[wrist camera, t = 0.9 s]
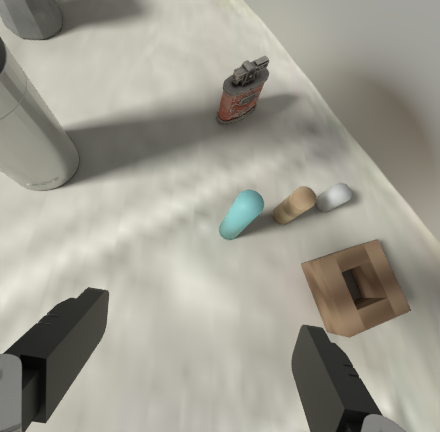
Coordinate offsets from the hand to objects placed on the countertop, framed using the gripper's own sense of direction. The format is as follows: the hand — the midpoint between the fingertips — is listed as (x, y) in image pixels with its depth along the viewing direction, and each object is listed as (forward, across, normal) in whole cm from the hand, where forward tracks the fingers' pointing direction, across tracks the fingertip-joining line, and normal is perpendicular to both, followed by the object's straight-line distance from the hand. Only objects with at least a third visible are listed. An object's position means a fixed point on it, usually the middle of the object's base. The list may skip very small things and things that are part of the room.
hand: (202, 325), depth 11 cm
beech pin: (+31, -10, +1) cm, 32 cm away
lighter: (+40, 0, -14) cm, 42 cm away
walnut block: (+26, -21, +9) cm, 35 cm away
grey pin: (+33, -17, -2) cm, 37 cm away
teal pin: (+28, -2, +4) cm, 28 cm away
